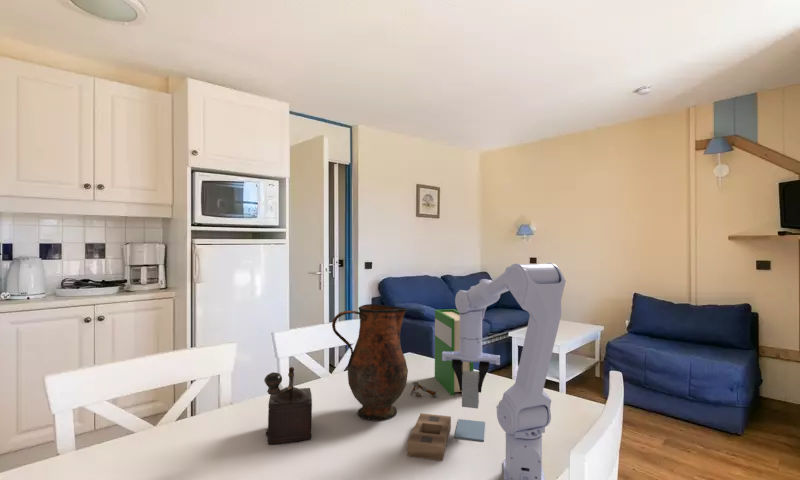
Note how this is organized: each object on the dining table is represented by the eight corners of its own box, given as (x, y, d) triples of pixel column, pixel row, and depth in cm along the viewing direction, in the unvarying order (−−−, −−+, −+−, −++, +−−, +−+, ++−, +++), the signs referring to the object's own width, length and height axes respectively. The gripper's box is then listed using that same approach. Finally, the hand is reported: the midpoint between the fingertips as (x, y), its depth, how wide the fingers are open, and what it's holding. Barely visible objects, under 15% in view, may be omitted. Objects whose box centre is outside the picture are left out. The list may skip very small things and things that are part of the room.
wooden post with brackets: (408, 392, 127) (413, 379, 127) (431, 403, 126) (437, 390, 126) (407, 394, 125) (413, 381, 125) (431, 405, 124) (437, 392, 124)
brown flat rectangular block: (442, 460, 88) (442, 446, 88) (407, 455, 90) (407, 442, 90) (450, 428, 104) (451, 416, 104) (420, 424, 106) (420, 412, 106)
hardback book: (473, 393, 128) (473, 318, 128) (451, 395, 126) (451, 319, 127) (454, 375, 145) (454, 309, 145) (434, 376, 144) (434, 309, 144)
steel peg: (477, 408, 100) (478, 376, 100) (461, 406, 101) (462, 375, 101) (478, 402, 104) (479, 371, 104) (463, 400, 105) (463, 370, 105)
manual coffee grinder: (267, 426, 105) (267, 357, 105) (310, 421, 107) (311, 354, 108) (262, 457, 90) (263, 376, 90) (313, 451, 92) (313, 372, 92)
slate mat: (483, 441, 97) (483, 439, 97) (454, 437, 99) (454, 436, 99) (485, 423, 107) (485, 421, 107) (458, 420, 109) (458, 418, 109)
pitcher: (415, 422, 107) (415, 310, 107) (334, 432, 102) (335, 313, 102) (399, 399, 123) (399, 301, 123) (328, 406, 118) (329, 303, 118)
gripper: (499, 335, 105) (499, 387, 105) (444, 332, 109) (444, 382, 108) (500, 341, 98) (499, 397, 98) (441, 338, 102) (440, 391, 102)
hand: (470, 390), depth 103 cm, fingers closed on steel peg, 4 cm apart
